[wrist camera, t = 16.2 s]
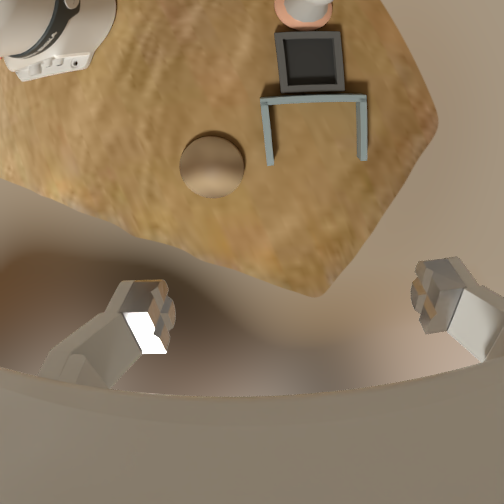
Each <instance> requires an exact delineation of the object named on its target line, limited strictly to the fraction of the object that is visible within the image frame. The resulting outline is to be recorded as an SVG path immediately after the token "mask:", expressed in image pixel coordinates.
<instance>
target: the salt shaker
mask: <svg viewBox="0 0 504 504" xmlns="http://www.w3.org/2000/svg"><path fill="white" fill-rule="evenodd" d="M332 1H333V0H284V5H285V8H286V10H287V13H288V14H289V15H291V16H292V17H293V18H294V19H296V20H299V21H301V22H315V21H317V20H319V19H322V18H323V16H324V15H325V14H326V13H327V10H328V4H329V3H331V2H332Z"/></svg>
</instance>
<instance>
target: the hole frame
mask: <svg viewBox="0 0 504 504" xmlns="http://www.w3.org/2000/svg"><path fill="white" fill-rule="evenodd" d="M274 36H275V44H276V52H277V61H278V70H279V79H280V89H281V93H293V92H316V91H345V85H344V70H343V58H342V47H341V36H340V32H337V31H305V32H281V33H274Z"/></svg>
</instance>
